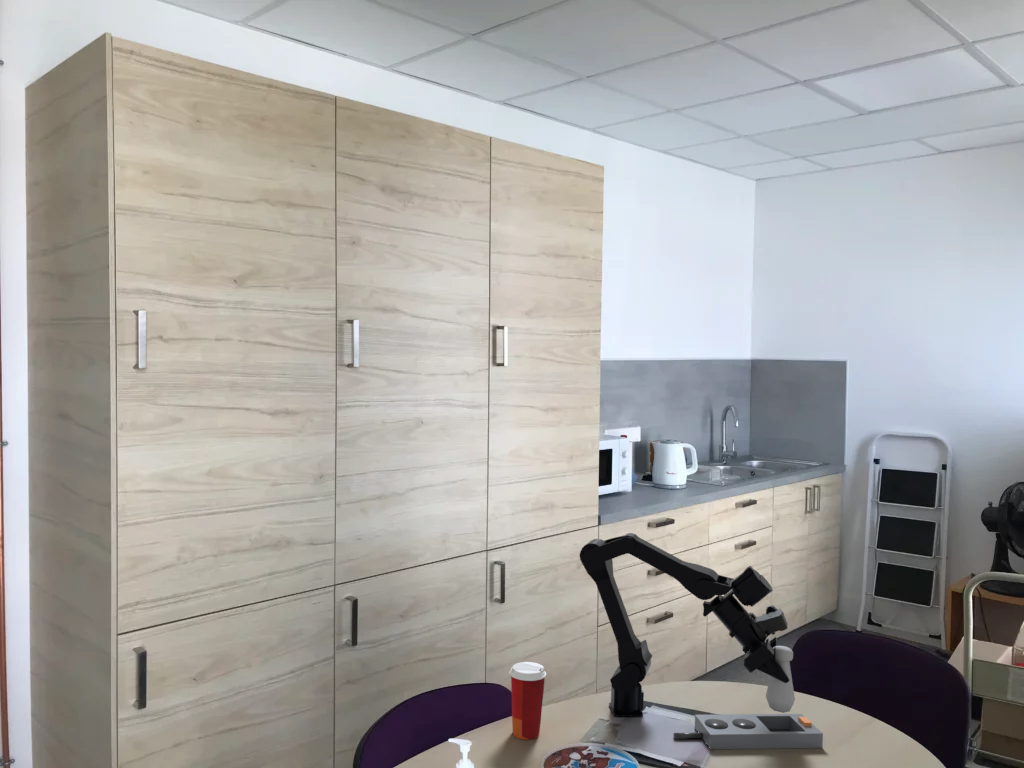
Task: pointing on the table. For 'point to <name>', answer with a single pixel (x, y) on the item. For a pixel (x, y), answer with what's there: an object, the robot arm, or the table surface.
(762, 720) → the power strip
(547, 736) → the table surface
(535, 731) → the paper cup
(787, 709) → the salt shaker
